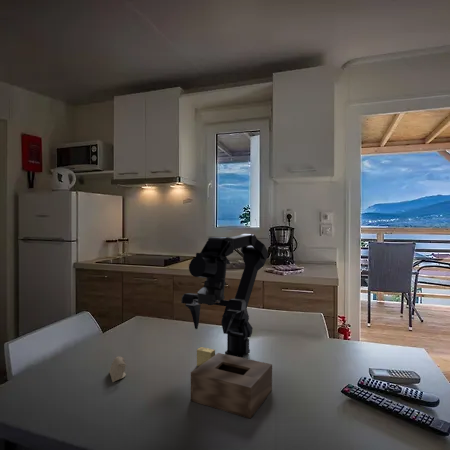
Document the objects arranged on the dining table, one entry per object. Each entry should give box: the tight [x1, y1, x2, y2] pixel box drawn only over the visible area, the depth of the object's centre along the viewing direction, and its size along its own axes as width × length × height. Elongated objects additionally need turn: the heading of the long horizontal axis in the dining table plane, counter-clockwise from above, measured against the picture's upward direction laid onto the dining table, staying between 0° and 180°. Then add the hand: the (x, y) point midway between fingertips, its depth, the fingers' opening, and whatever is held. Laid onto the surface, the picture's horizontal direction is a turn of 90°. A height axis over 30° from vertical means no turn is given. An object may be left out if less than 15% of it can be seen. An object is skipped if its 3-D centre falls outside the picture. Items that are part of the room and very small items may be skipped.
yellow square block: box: [196, 346, 216, 367], centre depth 102 cm, size 5×2×5 cm, turn 62°
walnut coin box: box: [190, 352, 273, 419], centre depth 85 cm, size 16×14×7 cm
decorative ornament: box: [108, 356, 128, 383], centre depth 95 cm, size 4×8×5 cm, turn 25°
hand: (210, 331), depth 99 cm, fingers open, 9 cm apart
